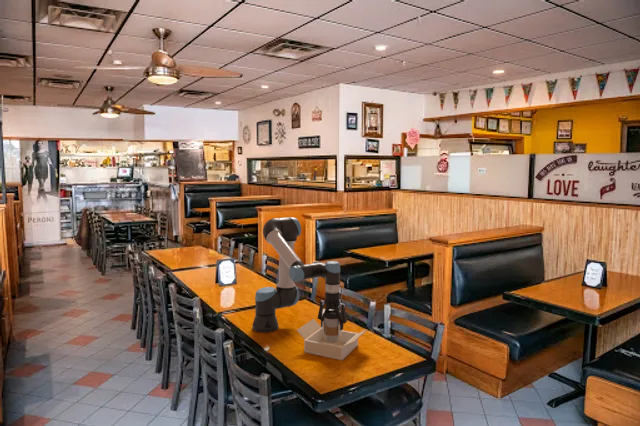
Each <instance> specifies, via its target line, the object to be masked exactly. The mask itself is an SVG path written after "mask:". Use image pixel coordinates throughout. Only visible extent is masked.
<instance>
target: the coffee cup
mask: <svg viewBox="0 0 640 426" xmlns="http://www.w3.org/2000/svg"><path fill="white" fill-rule="evenodd" d="M324 317H325V335H326V341H327V342H331V343H333V342H337V340H338V324H339V323H340V322H339V320H338V315H337V314H336V312H335V311H334V310H332V309H331V310H329V311H328V312H325V314H324Z"/></svg>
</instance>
